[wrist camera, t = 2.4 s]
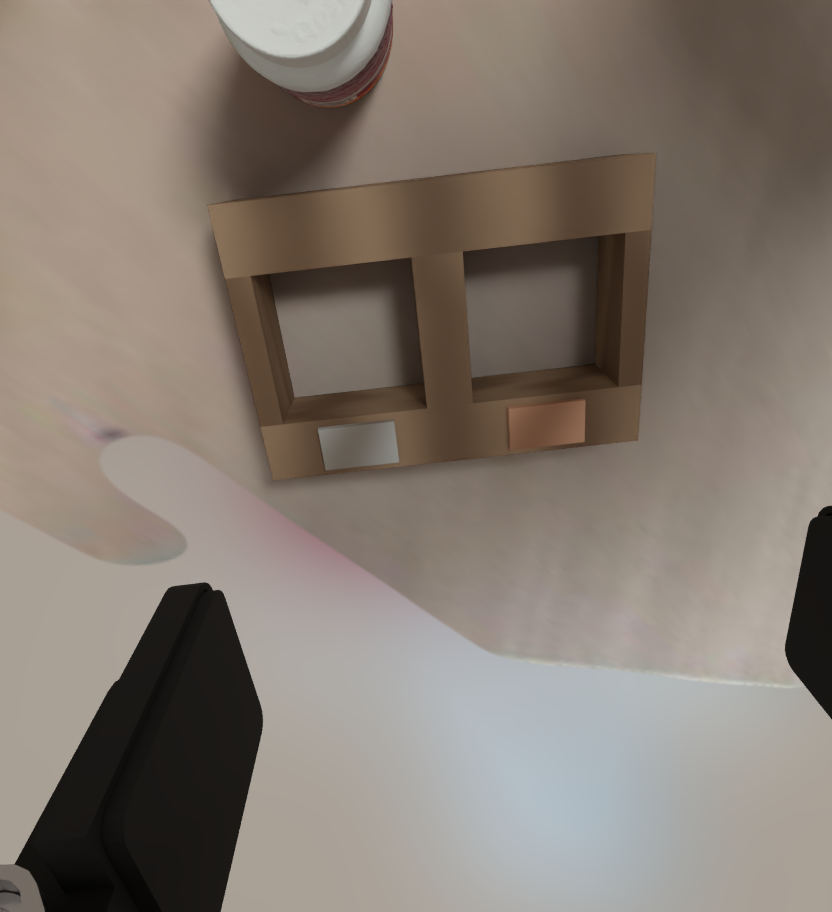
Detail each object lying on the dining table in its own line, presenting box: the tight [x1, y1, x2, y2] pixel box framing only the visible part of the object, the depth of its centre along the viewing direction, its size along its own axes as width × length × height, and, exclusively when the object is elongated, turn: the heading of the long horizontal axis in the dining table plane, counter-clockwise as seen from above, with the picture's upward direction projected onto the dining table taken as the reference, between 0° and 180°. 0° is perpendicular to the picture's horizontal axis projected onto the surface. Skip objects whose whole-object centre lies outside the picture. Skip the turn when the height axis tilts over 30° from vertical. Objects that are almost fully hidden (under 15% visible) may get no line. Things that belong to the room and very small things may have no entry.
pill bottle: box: [209, 0, 393, 108], centre depth 22 cm, size 6×6×11 cm
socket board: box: [207, 153, 656, 480], centre depth 31 cm, size 20×14×4 cm
